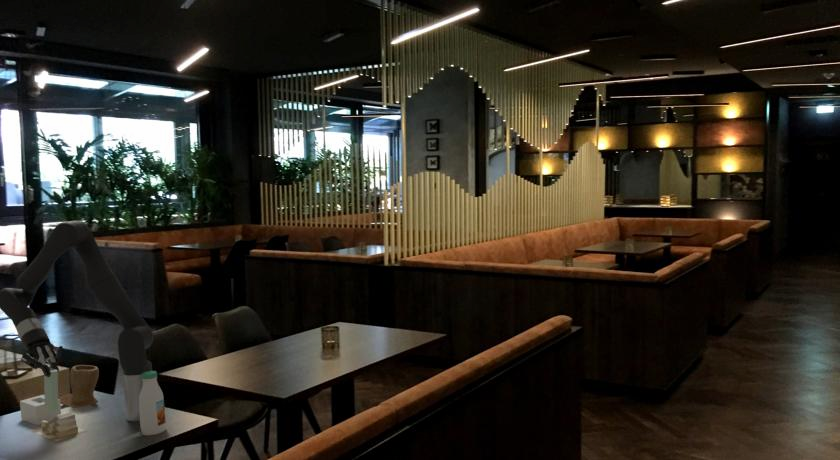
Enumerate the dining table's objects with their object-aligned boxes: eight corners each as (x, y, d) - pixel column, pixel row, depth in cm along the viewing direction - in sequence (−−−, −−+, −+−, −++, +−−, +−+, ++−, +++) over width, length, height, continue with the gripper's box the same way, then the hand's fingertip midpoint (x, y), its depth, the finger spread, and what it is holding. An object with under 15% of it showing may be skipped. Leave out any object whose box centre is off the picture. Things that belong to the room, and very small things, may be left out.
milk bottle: (150, 437, 214) (146, 376, 213) (136, 433, 219) (131, 374, 217) (171, 429, 221) (166, 370, 220) (156, 426, 225) (152, 368, 224)
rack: (30, 435, 222) (29, 422, 221) (60, 425, 230) (59, 412, 229) (56, 445, 211) (55, 431, 211) (87, 435, 219) (86, 422, 219)
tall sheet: (44, 407, 223) (44, 367, 220) (50, 405, 224) (50, 366, 222) (51, 412, 220) (51, 372, 218) (58, 410, 221) (57, 370, 219)
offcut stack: (51, 434, 217) (50, 416, 217) (69, 428, 222) (67, 411, 221) (60, 437, 214) (59, 419, 213) (78, 432, 218) (76, 414, 218)
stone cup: (107, 403, 253) (104, 364, 252) (76, 412, 243) (72, 372, 242) (86, 397, 261) (83, 359, 260) (55, 406, 252) (52, 367, 251)
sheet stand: (21, 423, 234) (19, 400, 233) (45, 416, 240) (43, 394, 240) (37, 429, 227) (35, 406, 226) (61, 422, 233) (59, 399, 233)
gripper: (13, 331, 218) (34, 373, 212) (56, 323, 229) (77, 362, 223) (7, 346, 222) (28, 387, 215) (50, 337, 233) (70, 376, 226)
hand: (53, 374), depth 219 cm, fingers closed on tall sheet, 1 cm apart
